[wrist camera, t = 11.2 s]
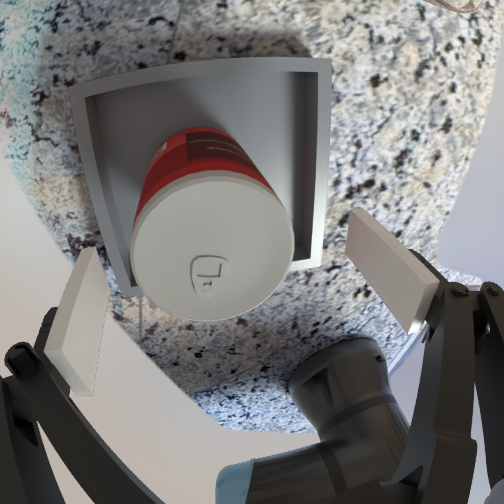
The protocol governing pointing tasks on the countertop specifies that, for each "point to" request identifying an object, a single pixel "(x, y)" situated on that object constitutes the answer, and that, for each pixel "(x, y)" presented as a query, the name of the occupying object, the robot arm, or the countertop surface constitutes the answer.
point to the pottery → (457, 5)
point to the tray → (216, 117)
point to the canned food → (208, 229)
